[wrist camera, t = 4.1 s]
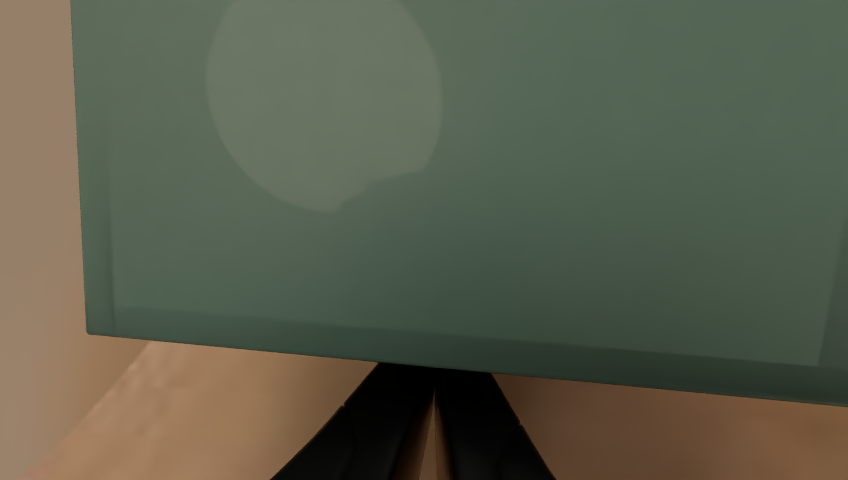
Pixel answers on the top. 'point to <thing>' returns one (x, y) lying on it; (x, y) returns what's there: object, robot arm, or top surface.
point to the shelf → (475, 185)
